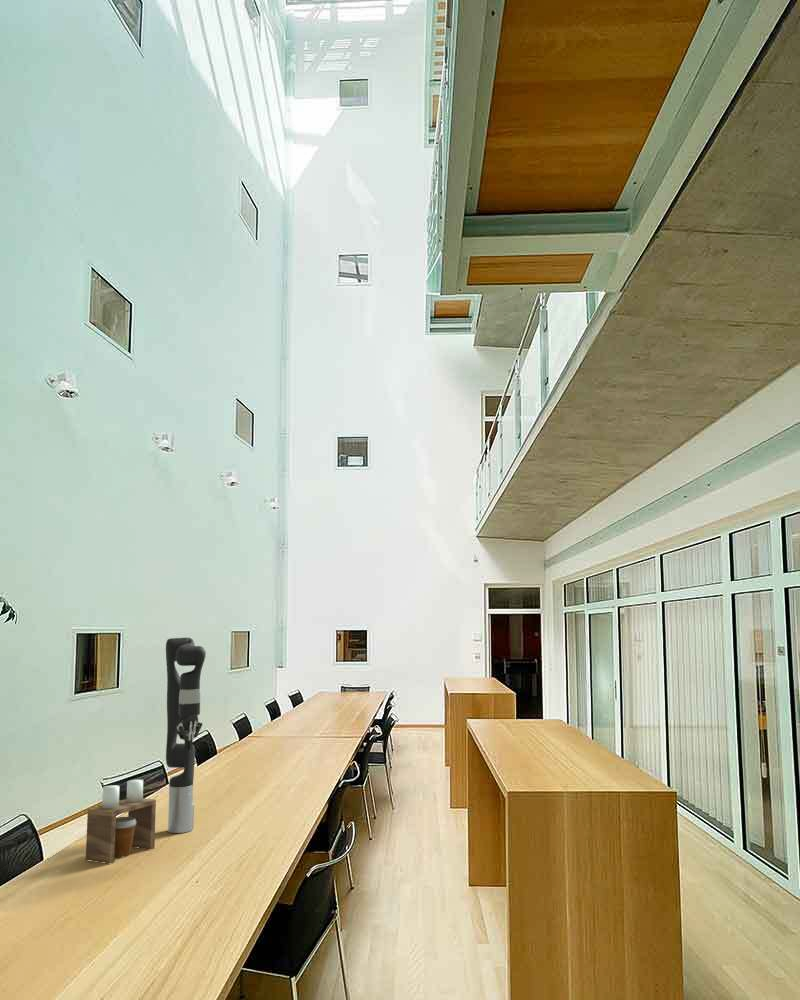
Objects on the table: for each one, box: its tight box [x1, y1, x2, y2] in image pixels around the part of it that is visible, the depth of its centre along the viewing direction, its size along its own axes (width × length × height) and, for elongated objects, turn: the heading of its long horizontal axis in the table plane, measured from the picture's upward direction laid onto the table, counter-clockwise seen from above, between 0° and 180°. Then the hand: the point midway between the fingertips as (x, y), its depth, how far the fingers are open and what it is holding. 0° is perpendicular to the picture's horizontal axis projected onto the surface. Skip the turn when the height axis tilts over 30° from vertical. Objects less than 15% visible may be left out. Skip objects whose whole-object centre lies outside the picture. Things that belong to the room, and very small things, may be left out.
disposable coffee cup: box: [114, 816, 137, 858], centre depth 295 cm, size 10×10×12 cm
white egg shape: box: [126, 779, 144, 803], centre depth 303 cm, size 6×6×7 cm
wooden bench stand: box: [85, 797, 157, 864], centre depth 296 cm, size 22×11×17 cm, turn 155°
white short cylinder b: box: [101, 784, 121, 809], centre depth 292 cm, size 6×6×7 cm
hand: (188, 751), depth 300 cm, fingers closed
